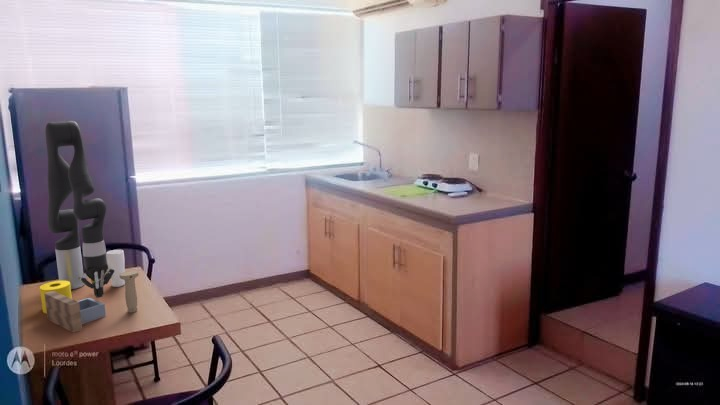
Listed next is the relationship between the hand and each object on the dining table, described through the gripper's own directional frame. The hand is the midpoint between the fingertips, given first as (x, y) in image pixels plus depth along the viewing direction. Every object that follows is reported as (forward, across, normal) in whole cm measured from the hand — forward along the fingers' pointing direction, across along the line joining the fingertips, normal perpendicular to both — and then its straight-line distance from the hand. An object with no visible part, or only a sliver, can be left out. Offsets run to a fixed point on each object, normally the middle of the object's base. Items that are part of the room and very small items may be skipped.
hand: (99, 296), depth 196 cm
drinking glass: (+6, -19, -20) cm, 29 cm away
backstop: (+6, +14, +1) cm, 15 cm away
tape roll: (+6, +8, -16) cm, 19 cm away
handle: (+6, -7, +10) cm, 14 cm away
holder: (+6, +7, +1) cm, 9 cm away
